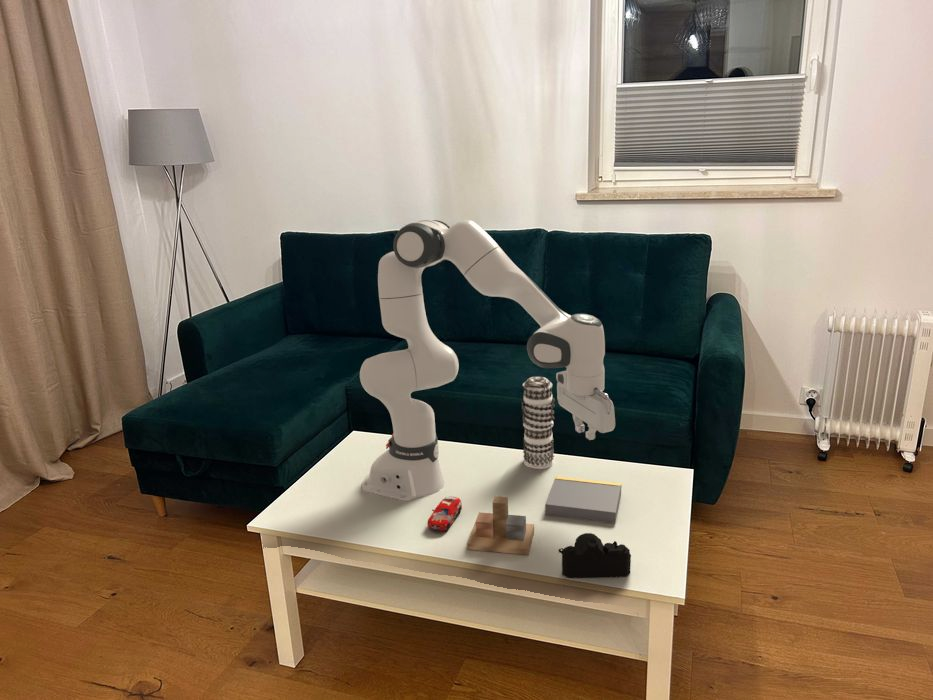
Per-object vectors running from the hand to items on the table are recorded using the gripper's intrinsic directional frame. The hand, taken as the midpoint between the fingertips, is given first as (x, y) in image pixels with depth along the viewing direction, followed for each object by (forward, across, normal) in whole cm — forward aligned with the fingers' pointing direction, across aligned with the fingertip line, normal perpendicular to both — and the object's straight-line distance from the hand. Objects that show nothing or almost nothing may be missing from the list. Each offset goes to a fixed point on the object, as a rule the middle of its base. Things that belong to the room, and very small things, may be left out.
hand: (585, 435), depth 175 cm
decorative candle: (+19, +25, -1) cm, 32 cm away
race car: (+21, +6, +36) cm, 42 cm away
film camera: (+20, -23, +13) cm, 33 cm away
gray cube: (+17, -7, +23) cm, 30 cm away
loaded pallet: (+19, -5, +26) cm, 33 cm away
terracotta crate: (+17, -3, +29) cm, 33 cm away
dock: (+19, 0, 0) cm, 19 cm away
